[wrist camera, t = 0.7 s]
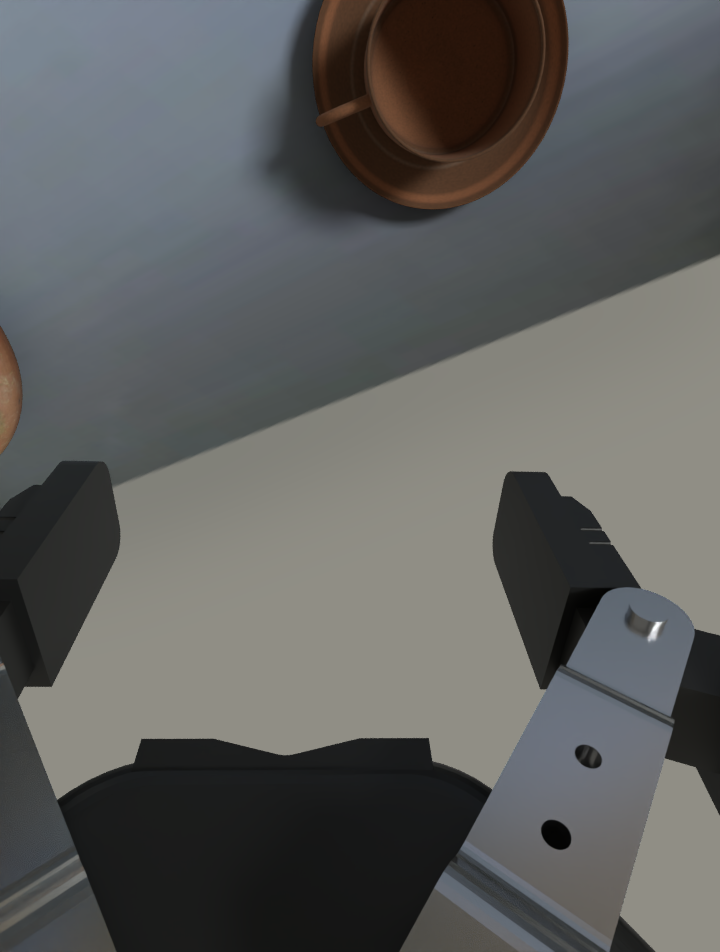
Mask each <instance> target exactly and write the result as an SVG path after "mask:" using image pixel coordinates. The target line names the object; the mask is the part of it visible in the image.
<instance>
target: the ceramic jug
mask: <svg viewBox="0 0 720 952" xmlns="http://www.w3.org/2000/svg"><path fill="white" fill-rule="evenodd" d="M22 396H23V394H22V381H21V375H20V370H19V366H18V363H17V360H16V357H15V354H14V352H13V349H12V347H11V345H10V343H9V341H8V339H7V337H6V335H5V333H4V331H3V329H2V328H1V326H0V454H1V453H2V452H3V451H4V450H5V448H6V447H7V445H8V444H9V442H10V441H11V439H12V437H13V435H14V433H15V430H16V428H17V425H18V422H19V418H20V414H21V409H22Z"/></svg>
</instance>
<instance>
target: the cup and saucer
mask: <svg viewBox="0 0 720 952" xmlns="http://www.w3.org/2000/svg"><path fill="white" fill-rule="evenodd" d="M567 61H568V24H567V17H566V11H565V6H564V2H563V0H323V3H322V6H321V9H320V12H319V16H318V20H317V24H316V30H315V36H314V44H313V56H312V72H313V84H314V91H315V97H316V103H317V107H318V111H319V116H318V117H317V119H316V124H317V125H318V126H319V127H323V126H324V129H325V131H326V133H327V136H328V138H329V140H330V142H331V144H332V146H333V147H334V149H335V151H336V153H337V154H338V156H339V157H340V159H341V160H342V162H343V163H344V164H345V165H346V167H347V168H348V169H349V170H350V171H351V173H352V174H353V175H354V176H355V177H356V178H357V179H358V180H359V181H361V182H362V183H363V184H364V185H365V186H367V187H368V188H369V189H371V190H372V191H374V192H375V193H377V194H378V195H380V196H382V197H384V198H386V199H388V200H390V201H392V202H395V203H398V204H400V205H404V206H408V207H412V208H419V209H446V208H452V207H457V206H460V205H464V204H467V203H470V202H472V201H475V200H478V199H480V198H482V197H484V196H485V195H487V194H489V193H491V192H492V191H494V190H496V189H497V188H499V187H500V186H501V185H503V184H504V183H505V182H506V181H508V180H509V179H510V178H511V177H512V176H513V175H514V174H516V173H517V172H518V171H519V170H520V169H521V167H522V166H523V165H524V164H525V163H526V162H527V161H528V159H529V158H530V157H531V156H532V154H533V153H534V152H535V150H536V149H537V147H538V146H539V144H540V143H541V141H542V139H543V138H544V136H545V134H546V132H547V130H548V128H549V126H550V124H551V122H552V120H553V117H554V115H555V113H556V110H557V107H558V104H559V101H560V98H561V94H562V90H563V87H564V82H565V76H566V71H567Z"/></svg>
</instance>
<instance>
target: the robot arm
mask: <svg viewBox="0 0 720 952" xmlns="http://www.w3.org/2000/svg"><path fill="white" fill-rule="evenodd" d="M119 545H120V525H119V520H118V515H117V510H116V505H115V500H114V494H113V489H112V484H111V479H110V474H109V470H108V468H107V466H106V464H105V463H104V462H97V461H62V462H60V463H59V464H58V466H57V467H56V468H55V469H54V471H53V472H52V473H51V474H50V476H49V477H48V478H47V479H46V481H45V482H44V483H43V484H42V485H33V486H31V487H29V488H28V489H26V490H24V491H23V492H21V493H20V494H18V495H16V496H15V497H13V498H11V499H10V500H9V501H8V502H7V503H6V504H5V506H4V507H3V508H2V509H1V510H0V952H655V951H654V950H653V949H652V948H651V947H650V946H649V945H648V944H647V943H646V942H645V941H644V940H643V939H642V938H641V937H640V936H639V935H638V934H637V932H636V931H635V930H634V929H633V928H632V927H630V925H629V924H627V922H626V921H625V920H624V919H623V918H622V917H621V916H620V912H621V909H622V905H623V902H624V898H625V895H626V891H627V887H628V884H629V881H630V877H631V874H632V870H633V866H634V863H635V860H636V856H637V853H638V849H639V846H640V842H641V839H642V835H643V832H644V828H645V824H646V821H647V818H648V814H649V811H650V807H651V804H652V800H653V796H654V793H655V790H656V786H657V783H658V779H659V776H660V772H661V769H662V765H663V762H664V758H666V759H669V760H673V761H676V762H680V763H683V764H687V765H690V766H694V767H696V768H697V770H698V772H699V774H700V776H701V778H702V781H703V782H704V784H705V787H706V789H707V791H708V793H709V795H710V797H711V799H712V801H713V803H714V805H715V807H716V809H717V811H718V813H719V815H720V636H719V635H716V634H711V633H707V632H703V631H700V630H696V629H694V626H693V624H692V621H691V620H690V618H689V617H688V615H687V614H686V613H685V612H684V611H683V610H682V609H681V608H680V607H678V606H677V605H676V604H674V603H673V602H671V601H670V600H668V599H667V598H665V597H663V596H661V595H658V594H656V593H653V592H651V591H648V590H643V589H641V587H640V586H639V584H638V583H637V581H636V580H635V578H634V577H633V575H632V573H631V572H630V570H629V569H628V567H627V566H626V564H625V563H624V562H623V560H622V558H621V557H620V555H619V554H618V552H617V551H616V549H615V547H614V546H613V545H611V544H610V540H609V538H608V537H607V535H606V534H605V532H604V531H602V528H601V526H600V525H599V523H598V522H597V520H596V518H595V517H594V515H593V514H592V512H591V511H590V510H588V509H587V508H586V507H585V506H583V505H582V504H580V503H579V502H578V501H577V500H575V499H574V498H573V497H566V496H565V497H564V496H561V495H560V494H559V492H558V490H557V489H556V487H555V485H554V484H553V482H552V480H551V479H550V477H549V476H548V474H547V473H545V472H511V471H510V472H508V473H507V475H506V476H505V479H504V483H503V488H502V493H501V498H500V503H499V508H498V513H497V518H496V523H495V529H494V534H493V556H494V561H495V565H496V567H497V570H498V573H499V576H500V579H501V581H502V584H503V587H504V590H505V593H506V595H507V598H508V601H509V604H510V606H511V609H512V612H513V615H514V617H515V620H516V623H517V626H518V629H519V631H520V634H521V637H522V640H523V642H524V645H525V648H526V651H527V654H528V656H529V659H530V662H531V665H532V668H533V670H534V673H535V676H536V679H537V681H538V684H539V687H540V689H547V690H546V692H545V694H544V695H543V697H542V699H541V701H540V703H539V705H538V706H537V708H536V710H535V712H534V714H533V716H532V718H531V719H530V721H529V723H528V725H527V727H526V729H525V731H524V732H523V734H522V736H521V738H520V740H519V742H518V743H517V745H516V747H515V749H514V751H513V753H512V755H511V757H510V758H509V760H508V762H507V764H506V766H505V768H504V769H503V771H502V773H501V775H500V777H499V779H498V781H497V783H496V784H495V786H494V788H493V790H492V789H491V788H490V787H488V786H486V785H485V784H483V783H482V782H480V781H479V780H477V779H475V778H474V777H471V776H470V775H468V774H466V773H464V772H462V771H460V770H457V769H455V768H452V767H449V766H447V765H444V764H441V763H436V762H433V761H432V758H431V750H430V744H429V738H378V739H377V738H370V739H369V738H365V739H363V738H361V739H360V738H359V739H356V740H351V741H347V742H343V743H339V744H335V745H331V746H326V747H323V748H318V749H314V750H310V751H306V752H302V753H298V754H294V755H278V754H273V753H269V752H265V751H261V750H257V749H253V748H249V747H245V746H240V745H237V744H233V743H229V742H224V741H220V740H216V739H141V743H140V746H139V749H138V752H137V755H136V759H135V762H134V763H133V764H129V765H125V766H122V767H119V768H117V769H114V770H111V771H108V772H106V773H103V774H101V775H99V776H97V777H95V778H93V779H91V780H88V781H87V782H85V783H83V784H81V785H80V786H78V787H76V788H74V789H73V790H71V791H69V792H68V793H66V794H65V795H64V796H62V797H61V798H59V799H58V800H57V799H56V797H55V794H54V791H53V789H52V786H51V784H50V781H49V779H48V776H47V774H46V771H45V769H44V766H43V763H42V761H41V758H40V756H39V753H38V750H37V748H36V745H35V743H34V740H33V738H32V735H31V732H30V730H29V727H28V725H27V722H26V720H25V717H24V715H23V712H22V710H21V707H20V705H19V702H18V697H19V696H20V694H21V692H22V690H23V688H24V687H26V686H27V687H52V685H53V683H54V681H55V679H56V677H57V675H58V673H59V671H60V668H61V667H62V665H63V663H64V661H65V659H66V657H67V655H68V653H69V651H70V649H71V647H72V645H73V643H74V641H75V639H76V637H77V635H78V633H79V631H80V629H81V627H82V625H83V623H84V621H85V619H86V617H87V615H88V613H89V611H90V609H91V607H92V605H93V603H94V601H95V599H96V597H97V595H98V593H99V591H100V589H101V587H102V585H103V583H104V581H105V579H106V577H107V575H108V573H109V571H110V569H111V567H112V565H113V563H114V561H115V559H116V557H117V554H118V550H119Z"/></svg>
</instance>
